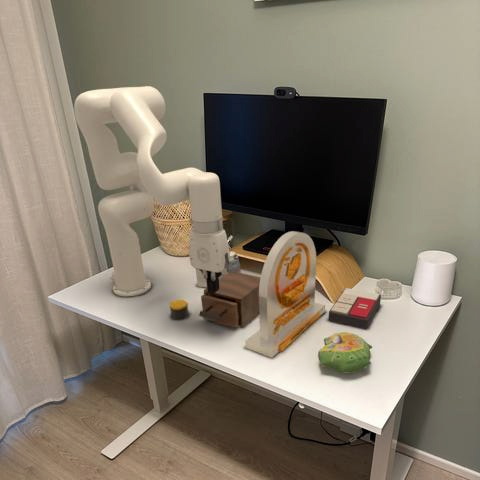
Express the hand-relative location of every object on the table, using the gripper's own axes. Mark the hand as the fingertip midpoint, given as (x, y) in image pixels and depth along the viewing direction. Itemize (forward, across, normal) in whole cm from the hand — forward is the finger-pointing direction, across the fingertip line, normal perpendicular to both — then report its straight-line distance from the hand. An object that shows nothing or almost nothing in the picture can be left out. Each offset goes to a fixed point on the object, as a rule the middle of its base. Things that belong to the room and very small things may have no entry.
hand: (213, 291), depth 122 cm
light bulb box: (+12, -19, +25) cm, 34 cm away
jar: (+12, -14, +1) cm, 19 cm away
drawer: (+11, 0, +6) cm, 13 cm away
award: (+12, +18, +9) cm, 23 cm away
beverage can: (+12, -10, +24) cm, 29 cm away
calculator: (+12, +31, +26) cm, 42 cm away
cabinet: (+12, 0, +11) cm, 16 cm away
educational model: (+12, +37, +2) cm, 39 cm away
